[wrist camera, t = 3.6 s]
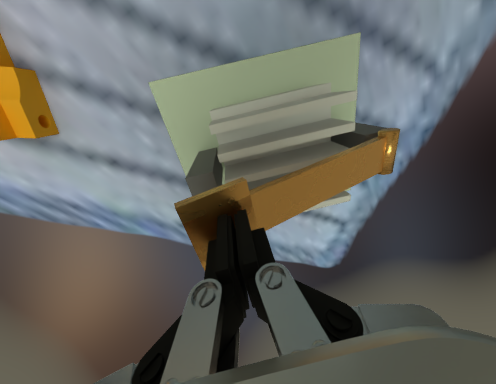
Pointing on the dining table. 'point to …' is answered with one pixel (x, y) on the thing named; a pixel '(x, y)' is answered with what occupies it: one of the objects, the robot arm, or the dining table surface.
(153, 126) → the dining table surface
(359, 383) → the robot arm
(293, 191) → the strap
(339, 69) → the board
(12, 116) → the pipe clamp
